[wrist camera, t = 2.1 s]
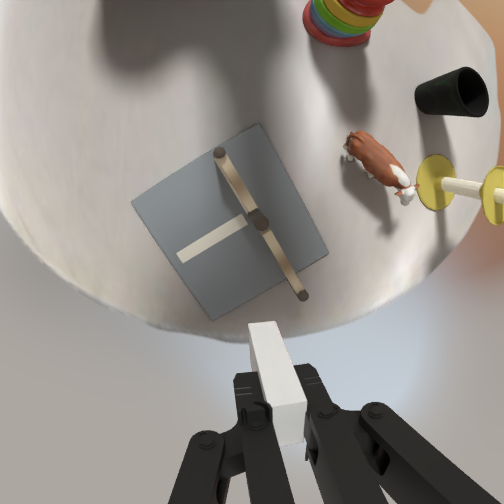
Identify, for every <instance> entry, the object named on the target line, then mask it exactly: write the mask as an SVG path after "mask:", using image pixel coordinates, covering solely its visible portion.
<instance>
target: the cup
mask: <svg viewBox="0 0 504 504" xmlns="http://www.w3.org/2000/svg"><path fill="white" fill-rule="evenodd" d="M415 101H416V104H417V106H418V107H419V109H420V110H421V111H422V112H424V113H425V114H430V115H452V116H467V117H482V116H483V115H485V113H486V112H487V109H488V105H489V95H488V91H487V88H486V85H485V83H484V81H483V79H482V78H481V76H480V75H479V74H478V73H477V72H476V71H475V70H474V69H472V68H470V67H462V68H459V69H457V70H454V71H452V72H449V73H447V74H444V75H442V76H439V77H437V78H435V79H432V80H430V81H427V82H425V83H423V84H420V85H419V86H418V87H417V88H416V90H415Z"/></svg>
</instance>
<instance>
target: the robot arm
mask: <svg viewBox="0 0 504 504" xmlns="http://www.w3.org/2000/svg"><path fill="white" fill-rule="evenodd" d="M248 330H249V345H250V359H251V367H252V371H253V372H246V373H237V374H236V376H235V378H234V380H233V383H234V392H235V400H236V408H237V416H238V421H237V424H236V425H235V426H234V427H233V428H232V429H230V430H229V431H227V432H224V433H221V434H218V433H217V432H215V431H210V430H206V431H201V432H198V433H196V434H195V435H193V436H192V438H191V439H190V442H189V445H188V448H187V450H186V453H185V456H184V459H183V462H182V465H181V467H180V470H179V473H178V476H177V479H176V482H175V485H174V488H173V490H172V493H171V496H170V499H169V502H168V504H225V503H226V498H227V493H228V488H229V483H230V479H231V477H232V476H235V475H237V474H240V473H243V472H246V478H247V484H248V490H249V496H250V502H251V504H295V503H294V499H293V495H292V492H291V489H290V485H289V481H288V477H287V474H286V470H285V467H284V462H283V459H282V455H281V451H280V448H279V447H280V446H286V445H292V444H298V443H303V442H304V437H305V439H306V442H307V446H306V455H305V461H307V460H308V458H309V460H310V463H311V466H312V469H313V472H314V475H315V478H316V481H317V484H318V487H319V490H320V493H321V495H322V499H323V502H324V504H388V502H387V500H386V498H385V496H384V494H383V492H382V490H381V488H380V486H381V487H382V488H383V489H384V490H385V491H386V492H387V493H388V494H389V495H390V497H391V498H392V499H393V500H394V501H395V502H396V503H397V504H501V503H500V502H499V501H497V500H496V499H495V498H494V497H493V496H491V495H490V494H489V493H488V492H487V491H485V490H484V489H483V488H482V487H481V486H479V485H478V484H477V483H476V482H474V481H473V480H472V479H471V478H470V477H469V476H467V475H466V474H465V473H464V472H463V471H462V470H460V469H459V468H458V467H457V466H456V465H455V464H453V463H452V462H451V461H450V460H449V459H448V458H446V457H445V456H444V455H443V454H442V453H441V452H440V451H438V450H437V449H436V448H435V447H434V446H433V445H431V444H430V443H429V442H428V441H427V440H426V439H425V438H423V437H422V436H421V435H420V434H419V433H418V432H417V431H415V430H414V429H413V428H412V427H411V426H410V425H409V424H407V423H406V422H405V421H404V420H403V419H402V418H401V417H399V416H398V415H397V414H396V413H395V412H394V411H393V410H392V409H391V408H389V407H388V406H387V405H385V404H384V403H380V402H371V403H368V404H366V405H365V406H363V408H362V409H361V411H349V410H343V409H341V408H340V407H339V406H338V405H336V404H334V403H333V402H332V401H331V399H330V397H329V395H328V393H327V391H326V389H325V386H324V385H323V383H322V380H321V378H320V377H319V374H318V372H317V370H316V369H315V368H314V367H313V366H311V365H310V364H309V363H307V364H302V365H295V366H293V364H292V362H291V359H290V357H289V354H288V352H287V349H286V347H285V344H284V342H283V339H282V337H281V334H280V332H279V329H278V327H277V324H276V322H275V321H269V322H260V323H250V324H248ZM379 485H380V486H379Z"/></svg>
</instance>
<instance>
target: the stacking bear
mask: <svg viewBox="0 0 504 504" xmlns="http://www.w3.org/2000/svg"><path fill="white" fill-rule="evenodd" d="M393 1H394V0H310V1H309V2H308V3H307V5H306V6H305V9H304V11H303V22H304V25H305V27H306V28H307V30H308V31H309V33H310V34H311V35H312V36H313V37H315V38H316V39H317V40H319V41H321V42H323V43H325V44H328V45H332V46H340V47H348V46H355V45H359V44H361V43H363V42H365V41H367V40H368V39H369V38H370V33H371V30H370V29H371V28H372V27H373V26H374V25H375V24H376V23H377V22H378V20H379V18H380V17H381V15H382V14H383V11H384V8H385V5H387V4H389V3H391V2H393Z"/></svg>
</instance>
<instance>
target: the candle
mask: <svg viewBox="0 0 504 504" xmlns="http://www.w3.org/2000/svg"><path fill="white" fill-rule="evenodd" d="M416 183H417V184H420V187H419V188H418V189H417V192H418V195H419V197H420V200H421V201H422V202H423V204H424V205H425V206H426V207H427V208H430V209H432V210H441V209H443V208H445V207H446V206H447V205H449V204H450V202H451V200H452V199H453V197H454V195H455V194H459V195H463V196H467V197H472V198H476V199H480V200H482V207H483V212H484V215H485V216H486V218H487V220H488V221H489V222H490V223H492V224H494V225H500V224H503V223H504V167H503V166H495V167H493V168H492V169H491V170H490V171H489V172H488V174H487V176H486V178H485V179H484V183H478V182H473V181H467V180H462V179H456V174H455V171H454V167H453V166H452V164H451V163H450V162H449V160H448V159H447V158H445V157H443V156H441V155H431V156H429V157H428V158H426V159H424V161H423V162H422V164H421V165H420V167H419V170H418V174H417V178H416Z"/></svg>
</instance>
